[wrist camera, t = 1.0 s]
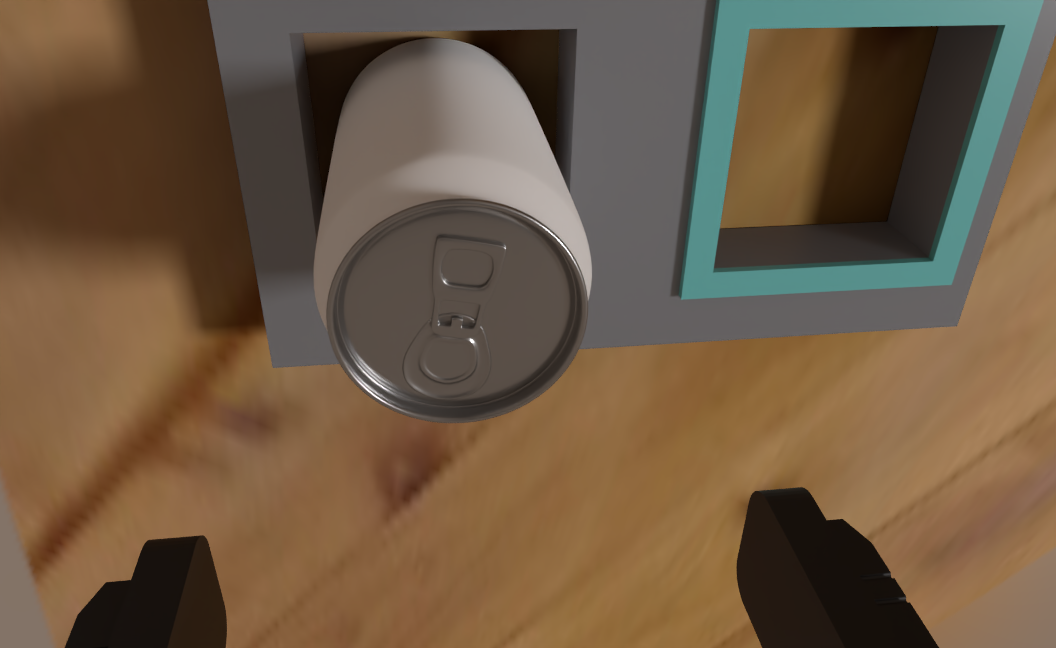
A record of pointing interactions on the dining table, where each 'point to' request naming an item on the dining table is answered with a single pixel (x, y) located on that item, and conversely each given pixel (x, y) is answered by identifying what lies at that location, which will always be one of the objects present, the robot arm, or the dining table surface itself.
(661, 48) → the dock panel
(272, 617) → the dining table surface
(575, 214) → the can
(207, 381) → the dining table surface
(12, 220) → the dining table surface
